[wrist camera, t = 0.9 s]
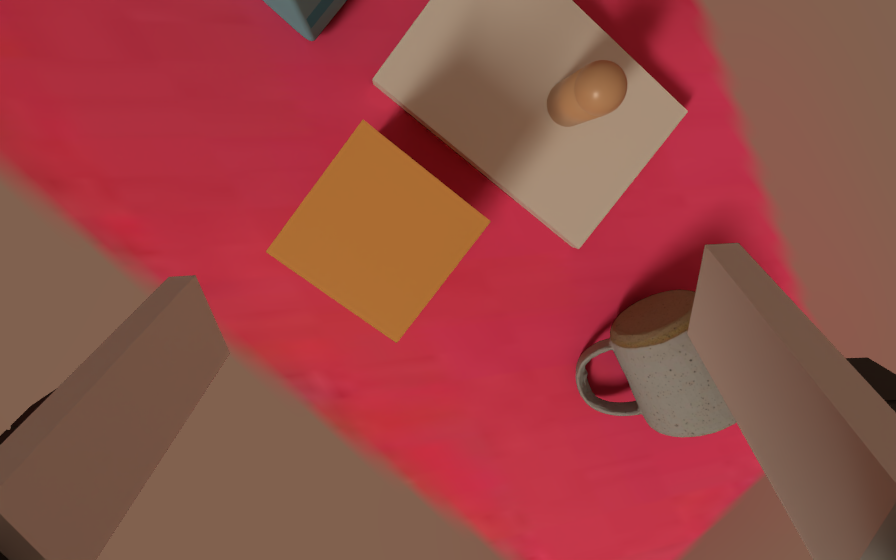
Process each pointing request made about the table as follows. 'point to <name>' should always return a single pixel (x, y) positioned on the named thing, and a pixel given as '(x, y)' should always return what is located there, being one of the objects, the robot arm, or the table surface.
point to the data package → (306, 14)
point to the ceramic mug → (660, 369)
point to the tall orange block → (378, 233)
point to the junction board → (533, 103)
